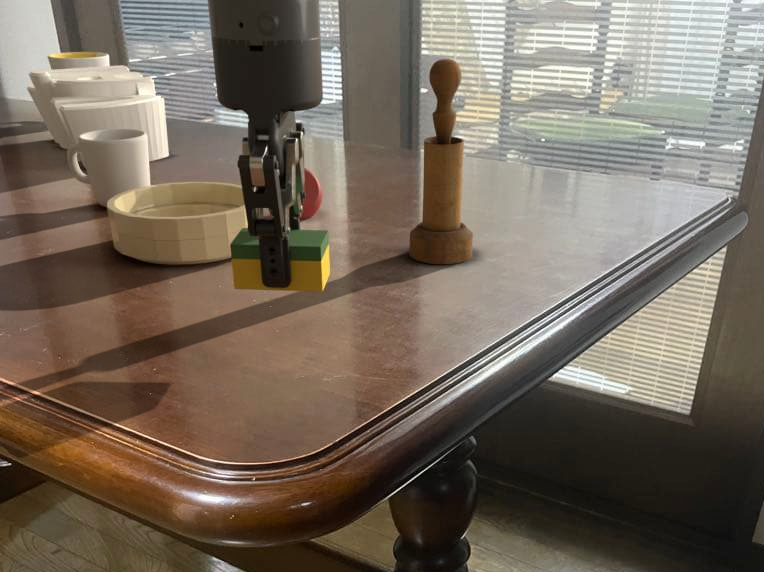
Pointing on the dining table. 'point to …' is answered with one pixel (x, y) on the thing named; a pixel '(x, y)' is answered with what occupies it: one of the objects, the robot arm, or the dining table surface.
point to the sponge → (304, 254)
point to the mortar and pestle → (442, 180)
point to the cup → (111, 161)
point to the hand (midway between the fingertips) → (282, 274)
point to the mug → (78, 60)
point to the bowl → (177, 222)
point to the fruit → (311, 195)
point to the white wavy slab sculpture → (99, 104)
